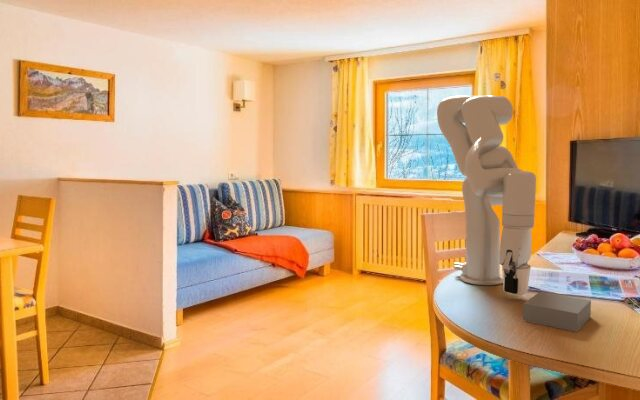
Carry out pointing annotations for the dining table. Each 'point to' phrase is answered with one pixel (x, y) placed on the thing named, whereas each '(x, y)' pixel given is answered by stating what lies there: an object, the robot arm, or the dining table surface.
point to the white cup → (520, 278)
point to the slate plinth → (557, 311)
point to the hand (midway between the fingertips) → (515, 288)
